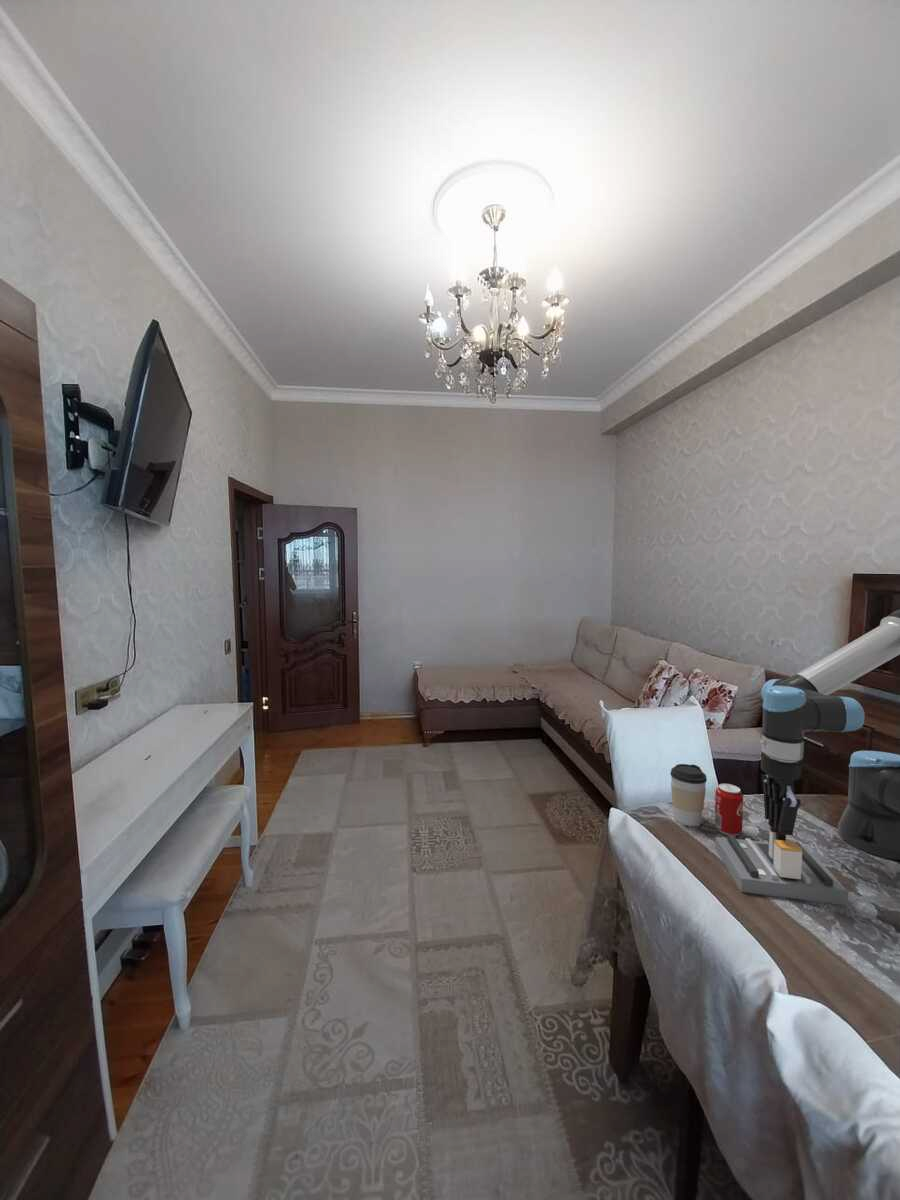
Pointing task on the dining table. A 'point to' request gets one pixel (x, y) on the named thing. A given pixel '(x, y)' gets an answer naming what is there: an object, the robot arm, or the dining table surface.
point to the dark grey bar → (816, 868)
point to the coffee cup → (688, 793)
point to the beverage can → (728, 809)
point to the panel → (771, 881)
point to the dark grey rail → (743, 856)
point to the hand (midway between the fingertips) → (776, 857)
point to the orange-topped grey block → (787, 859)
